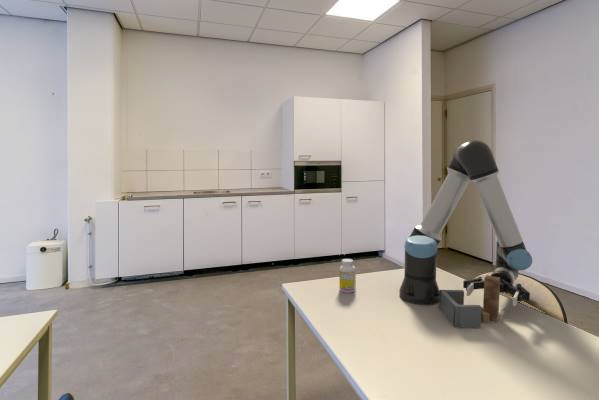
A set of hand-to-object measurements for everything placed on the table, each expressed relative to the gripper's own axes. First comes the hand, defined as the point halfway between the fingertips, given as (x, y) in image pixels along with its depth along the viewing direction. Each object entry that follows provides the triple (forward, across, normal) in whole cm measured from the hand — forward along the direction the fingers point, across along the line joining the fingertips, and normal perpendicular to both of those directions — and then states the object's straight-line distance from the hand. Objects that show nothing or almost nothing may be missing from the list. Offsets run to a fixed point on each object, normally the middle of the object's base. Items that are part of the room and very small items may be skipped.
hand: (490, 296), depth 114 cm
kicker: (-1, +2, -8) cm, 9 cm away
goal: (+3, +9, -8) cm, 12 cm away
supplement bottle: (+4, +52, -9) cm, 53 cm away
